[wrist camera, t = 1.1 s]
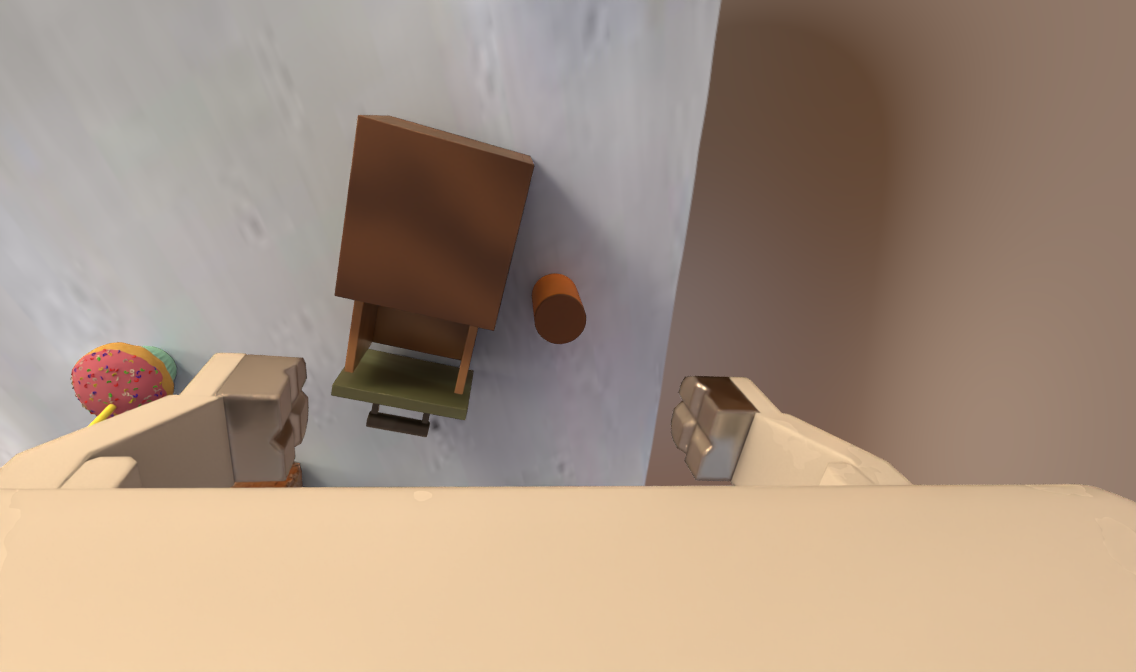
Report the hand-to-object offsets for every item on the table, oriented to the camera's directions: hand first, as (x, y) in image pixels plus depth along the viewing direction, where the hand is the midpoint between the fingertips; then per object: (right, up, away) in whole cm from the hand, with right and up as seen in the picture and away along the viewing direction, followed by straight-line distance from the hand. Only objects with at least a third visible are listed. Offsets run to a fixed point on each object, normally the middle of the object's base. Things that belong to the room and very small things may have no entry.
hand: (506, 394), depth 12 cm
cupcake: (-43, -2, +46) cm, 63 cm away
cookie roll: (0, +6, +47) cm, 48 cm away
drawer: (-14, +2, +46) cm, 48 cm away
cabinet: (-11, +14, +43) cm, 46 cm away
